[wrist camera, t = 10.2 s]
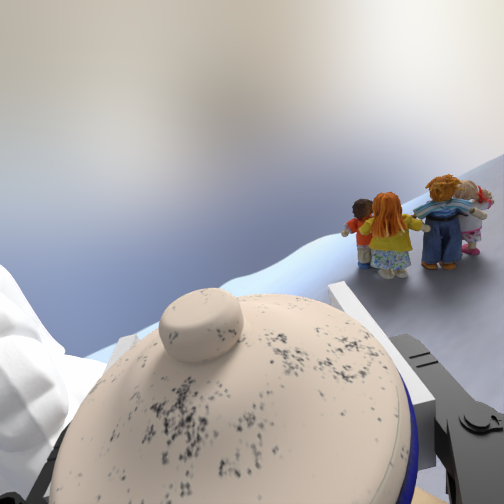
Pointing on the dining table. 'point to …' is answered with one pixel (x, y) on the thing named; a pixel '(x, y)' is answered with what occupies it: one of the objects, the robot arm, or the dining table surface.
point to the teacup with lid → (244, 412)
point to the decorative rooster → (33, 389)
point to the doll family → (420, 227)
